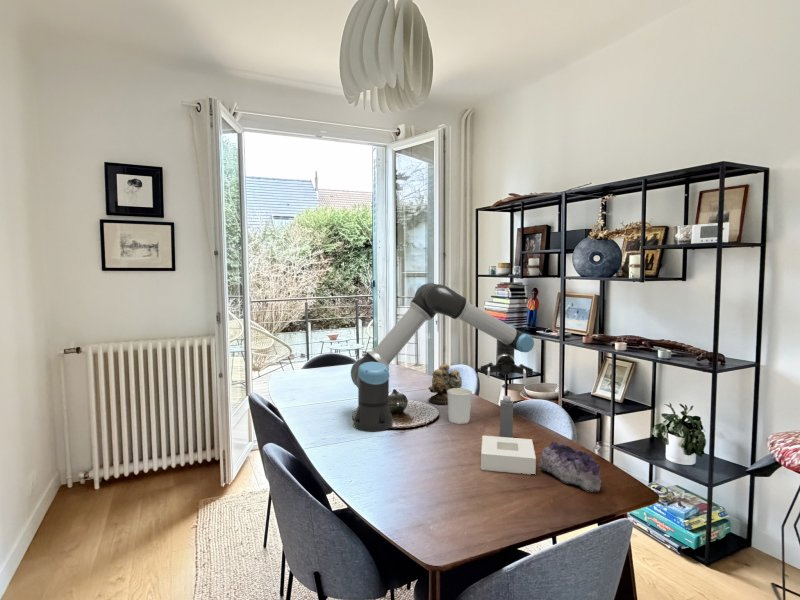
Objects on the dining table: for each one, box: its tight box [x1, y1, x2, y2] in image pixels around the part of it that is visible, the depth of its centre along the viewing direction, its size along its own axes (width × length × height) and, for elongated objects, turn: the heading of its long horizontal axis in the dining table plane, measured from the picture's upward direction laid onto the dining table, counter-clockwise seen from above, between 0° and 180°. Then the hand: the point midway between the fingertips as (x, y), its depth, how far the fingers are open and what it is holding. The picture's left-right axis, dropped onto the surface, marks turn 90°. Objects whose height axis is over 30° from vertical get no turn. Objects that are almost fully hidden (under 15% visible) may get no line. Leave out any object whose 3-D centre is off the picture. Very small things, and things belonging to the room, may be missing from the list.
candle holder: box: [447, 387, 473, 425], centre depth 191 cm, size 10×10×12 cm
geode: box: [539, 441, 602, 493], centre depth 140 cm, size 20×12×10 cm, turn 29°
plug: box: [498, 395, 514, 438], centre depth 173 cm, size 4×4×15 cm
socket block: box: [480, 435, 537, 475], centre depth 151 cm, size 16×16×5 cm
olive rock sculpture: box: [428, 363, 463, 406], centre depth 218 cm, size 18×12×17 cm, turn 117°
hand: (506, 375), depth 183 cm, fingers open, 13 cm apart
